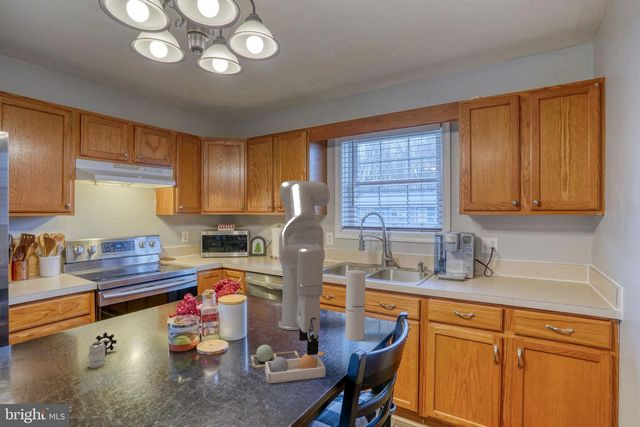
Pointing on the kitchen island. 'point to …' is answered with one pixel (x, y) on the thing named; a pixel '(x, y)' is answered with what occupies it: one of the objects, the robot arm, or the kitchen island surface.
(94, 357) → the valve
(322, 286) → the robot arm
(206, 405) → the kitchen island surface
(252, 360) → the tray
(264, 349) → the ball sage
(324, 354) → the card
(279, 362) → the ball slate
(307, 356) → the ball terracotta
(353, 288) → the cylindrical container
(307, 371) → the trough
